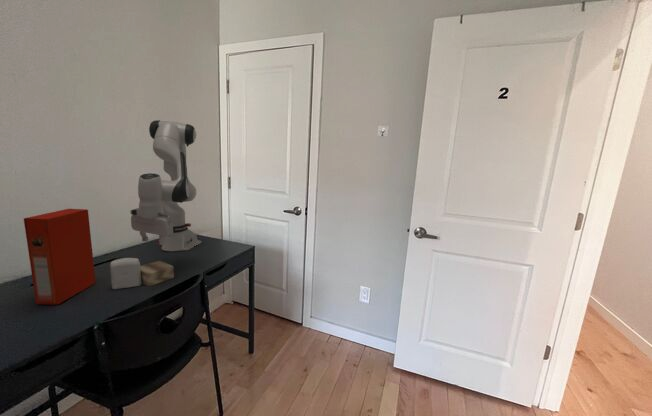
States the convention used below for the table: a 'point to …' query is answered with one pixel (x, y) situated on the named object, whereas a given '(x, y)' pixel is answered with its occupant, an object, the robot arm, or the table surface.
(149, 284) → the oak box
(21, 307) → the table surface
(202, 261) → the table surface
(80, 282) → the file binder
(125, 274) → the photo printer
